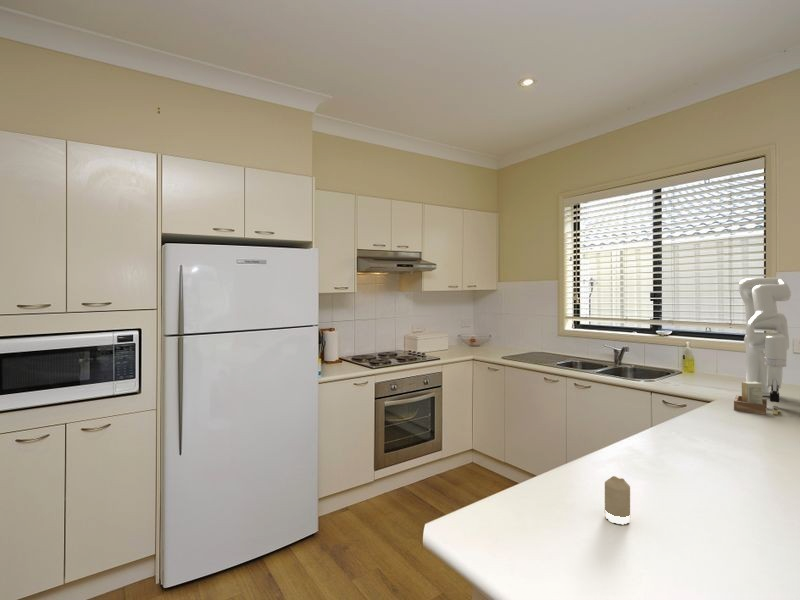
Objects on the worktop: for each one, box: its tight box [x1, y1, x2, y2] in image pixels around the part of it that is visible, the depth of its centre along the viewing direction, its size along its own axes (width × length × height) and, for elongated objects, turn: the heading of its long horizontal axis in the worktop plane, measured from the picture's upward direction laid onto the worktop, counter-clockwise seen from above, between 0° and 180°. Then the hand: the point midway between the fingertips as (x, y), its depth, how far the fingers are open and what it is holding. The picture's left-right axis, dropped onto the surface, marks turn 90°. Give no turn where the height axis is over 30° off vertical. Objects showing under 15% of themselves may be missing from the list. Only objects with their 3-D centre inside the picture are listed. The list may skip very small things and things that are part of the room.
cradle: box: [733, 395, 768, 415], centre depth 192 cm, size 13×11×4 cm
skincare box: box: [741, 381, 763, 404], centre depth 192 cm, size 6×4×12 cm
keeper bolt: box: [772, 405, 779, 416], centre depth 186 cm, size 9×2×3 cm, turn 138°
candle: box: [604, 475, 631, 517], centre depth 103 cm, size 6×6×10 cm
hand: (774, 401), depth 195 cm, fingers closed
